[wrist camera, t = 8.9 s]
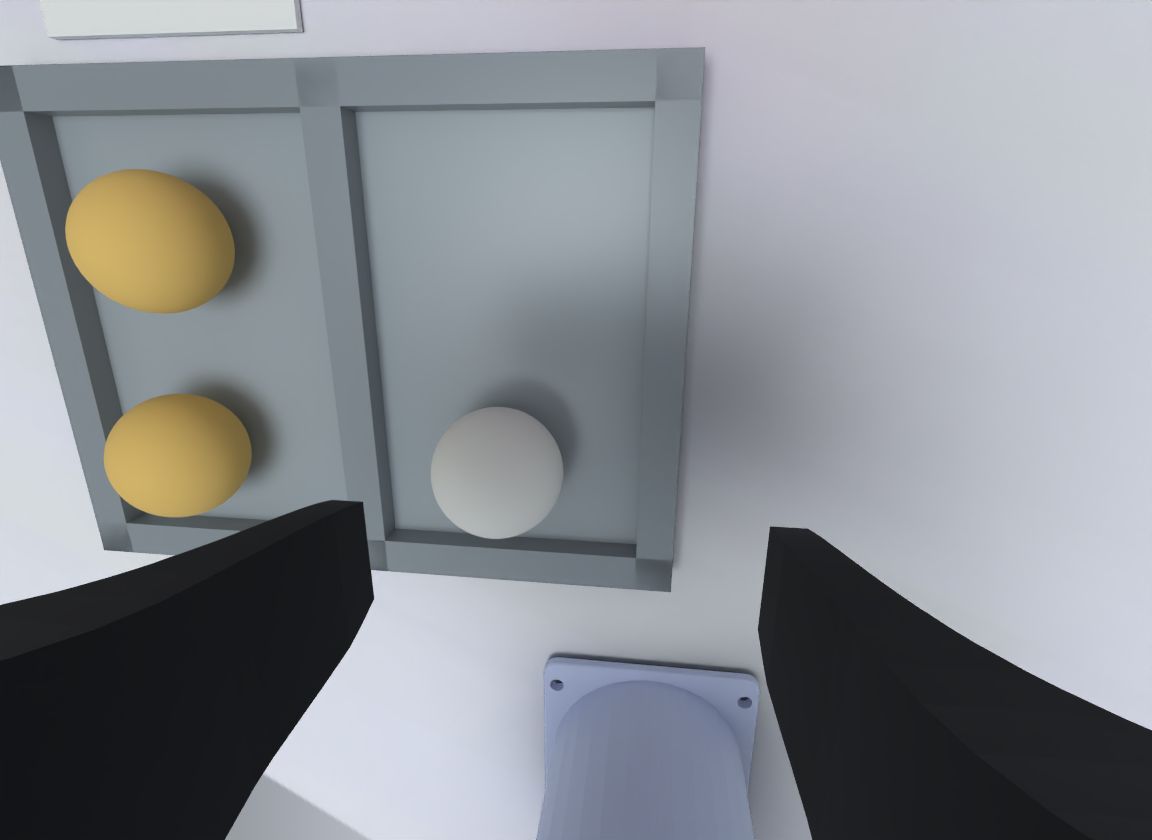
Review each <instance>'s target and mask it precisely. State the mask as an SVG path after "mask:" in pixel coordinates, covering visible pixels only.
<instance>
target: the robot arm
mask: <svg viewBox="0 0 1152 840" xmlns="http://www.w3.org/2000/svg"><path fill="white" fill-rule="evenodd" d="M373 600H374V593H373V585H372V576H371V567H370V558H369V550H368V541H367V532H366V523H365V514H364V506H363V502H360V501H343V500H329V501H324V502H320V503H316V504H313V505H310V506H307V507H304V508H301V509H298V510H295V511H293V512H290V513H287V514H284V515H282V516H279V517H277V518H274V519H271V520H269V521H266V522H264V523H261V524H258V525H256V526H253V527H251V528H248V529H245V530H243V531H240V532H238V533H235V534H233V535H230V536H227V537H225V538H222V539H220V540H217V541H214V542H211V543H209V544H206V545H203V546H200V547H197V548H195V549H192V550H189V551H186V552H183V553H181V554H178V555H175V556H172V557H170V558H167V559H164V560H161V561H158V562H156V563H153V564H150V565H147V566H144V567H141V568H137V569H134V570H131V571H128V572H125V573H122V574H118V575H115V576H112V577H108V578H105V579H101V580H98V581H94V582H91V583H87V584H84V585H80V586H77V587H73V588H69V589H66V590H62V591H58V592H54V593H50V594H46V595H41V596H37V597H33V598H28V599H24V600H20V601H16V602H11V603H7V604H3V605H0V840H225V838H226V836H227V835H228V833H229V831H230V829H231V828H232V826H233V824H234V822H235V820H236V819H237V817H238V815H239V813H240V812H241V810H242V808H243V806H244V805H245V803H246V801H247V799H248V797H249V796H250V794H251V791H252V790H253V789H254V787H255V785H256V784H257V782H258V780H259V779H260V777H261V776H262V774H263V773H264V771H265V770H266V768H267V767H268V765H269V763H270V762H271V760H272V759H273V757H274V756H275V754H276V753H277V752H278V750H279V749H280V747H281V746H282V744H283V743H284V742H285V740H286V739H287V737H288V736H289V734H290V733H291V732H292V730H293V729H294V727H295V726H296V724H297V723H298V722H299V720H300V719H301V717H302V716H303V714H304V713H305V712H306V710H307V709H308V707H309V706H310V704H311V703H312V702H313V700H314V699H315V697H316V696H317V694H318V693H319V692H320V690H321V689H322V687H323V686H324V684H325V683H326V682H327V680H328V679H329V677H330V676H331V674H332V673H333V671H334V670H335V668H336V667H337V665H338V664H339V663H340V661H341V660H342V658H343V657H344V655H345V654H346V652H347V651H348V649H349V648H350V646H351V644H352V642H353V640H354V638H355V637H356V635H357V633H358V631H359V629H360V627H361V625H362V623H363V621H364V619H365V617H366V615H367V613H368V611H369V608H370V606H371V604H372V602H373ZM758 633H759V639H760V646H761V652H762V659H763V665H764V671H765V677H766V682H767V686H768V690H769V693H770V697H771V700H772V704H773V707H774V710H775V714H776V717H777V721H778V724H779V727H780V731H781V734H782V737H783V741H784V744H785V747H786V751H787V754H788V757H789V760H790V764H791V767H792V770H793V774H794V777H795V780H796V784H797V787H798V790H799V794H800V797H801V800H802V803H803V807H804V810H805V813H806V817H807V820H808V824H809V828H810V832H811V836H812V840H1152V730H1150V729H1147V728H1145V727H1143V726H1140V725H1138V724H1136V723H1133V722H1131V721H1129V720H1126V719H1124V718H1122V717H1120V716H1118V715H1115V714H1113V713H1111V712H1109V711H1107V710H1105V709H1103V708H1100V707H1098V706H1096V705H1094V704H1092V703H1090V702H1088V701H1086V700H1083V699H1081V698H1079V697H1077V696H1075V695H1073V694H1071V693H1069V692H1066V691H1064V690H1062V689H1060V688H1058V687H1056V686H1054V685H1052V684H1050V683H1048V682H1046V681H1044V680H1042V679H1040V678H1038V677H1036V676H1034V675H1032V674H1030V673H1028V672H1027V671H1025V670H1023V669H1021V668H1019V667H1017V666H1016V665H1014V664H1012V663H1010V662H1008V661H1007V660H1005V659H1003V658H1001V657H999V656H998V655H996V654H994V653H992V652H990V651H988V650H987V649H985V648H983V647H981V646H979V645H978V644H976V643H974V642H972V641H971V640H969V639H967V638H966V637H964V636H962V635H961V634H959V633H957V632H956V631H954V630H953V629H951V628H949V627H948V626H946V625H945V624H943V623H942V622H940V621H939V620H937V619H935V618H934V617H932V616H931V615H929V614H928V613H926V612H925V611H923V610H921V609H920V608H918V607H917V606H915V605H914V604H912V603H911V602H909V601H908V600H907V599H905V598H904V597H902V596H901V595H899V594H898V593H896V592H895V591H894V590H892V589H891V588H889V587H888V586H887V585H885V584H884V583H882V582H881V581H880V580H878V579H877V578H875V577H874V576H873V575H871V574H870V573H869V572H867V571H866V570H865V569H863V568H862V567H861V566H859V565H858V564H857V563H855V562H854V561H853V560H851V559H850V558H849V557H847V556H846V555H845V554H843V553H842V552H841V551H839V550H838V549H837V548H835V547H834V546H832V545H831V544H830V543H828V542H827V541H826V540H824V539H823V538H821V537H820V536H819V535H817V534H816V533H814V532H812V531H811V530H809V529H802V528H786V527H770V532H769V541H768V549H767V558H766V566H765V575H764V583H763V591H762V600H761V608H760V617H759V625H758ZM556 679H557V680H560V681H561V682H562V683H555V682H554V681H553V680H556ZM759 696H760V688H759V684H758V681H757V679H756V678H755V677H753V676H752V675H749V674H743V673H731V672H720V671H709V670H697V669H686V668H674V667H663V666H652V665H640V664H629V663H618V662H606V661H595V660H584V659H572V658H561V657H555V658H551V659H549V660H548V661H547V663H546V666H545V670H544V712H545V796H544V801H543V806H542V812H541V817H540V822H539V827H538V833H537V838H536V840H755V838H754V832H753V826H752V820H751V814H750V808H749V802H748V796H747V793H748V785H749V776H750V768H751V760H752V752H753V744H754V736H755V728H756V720H757V712H758V704H759ZM741 697H748V698H749V699H747V700H744V701H742V700H739V699H740V698H741Z"/></svg>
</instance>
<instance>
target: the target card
mask: <svg viewBox="0 0 1152 840" xmlns="http://www.w3.org/2000/svg"><path fill="white" fill-rule="evenodd" d="M40 5H41V9H42V13H43V18H44V22H45V26H46V31H47V35H48V37H50V38H53V39H56V40H66V39H98V38H130V37H162V36H194V35H226V34H258V33H290V32H303V28H302V20H301V11H300V3H299V0H40Z"/></svg>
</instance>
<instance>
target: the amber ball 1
mask: <svg viewBox="0 0 1152 840" xmlns="http://www.w3.org/2000/svg"><path fill="white" fill-rule="evenodd" d="M65 233H66V241H67V246H68V249H69V252H70V255H71V257H72V259H73V261H74V263H75V265H76V266H77V268H78V269H79V271H80V272H81V274H82V275H83V276H84V277H85V279H86V280H87V281H88V282H89V283H90V284H91V285H92V286H93V287H95V288H96V289H97V290H98V291H100V292H101V293H102V294H104V295H105V296H107V297H108V298H110V299H111V300H114V301H116V302H118V303H120V304H122V305H124V306H126V307H129V308H132V309H136V310H139V311H144V312H149V313H160V314H166V313H178V312H183V311H187V310H191V309H194V308H196V307H199V306H201V305H203V304H204V303H206V302H208V301H210V300H211V299H212V298H213V297H215V296H216V295H217V294H218V293H219V292H220V291H221V290H222V289H223V287H224V286H225V284H226V283H227V281H228V279H229V277H230V275H231V273H232V269H233V266H234V260H235V248H234V241H233V236H232V233H231V230H230V227H229V225H228V223H227V221H226V219H225V218H224V216H223V214H222V213H221V211H220V210H219V209H218V207H217V206H216V205H215V204H214V203H213V202H212V201H211V200H210V199H209V198H208V197H207V196H206V195H205V194H204V193H202V192H201V191H200V190H198V189H197V188H195V187H194V186H192V185H191V184H189V183H187V182H185V181H184V180H182V179H179V178H177V177H175V176H172V175H169V174H166V173H162V172H157V171H153V170H144V169H128V170H120V171H115V172H111V173H108V174H106V175H103V176H101V177H99V178H97V179H95V180H94V181H92V182H90V183H89V184H88V185H86V186H85V187H84V188H83V189H82V190H81V191H80V192H79V193H78V195H77V196H76V197H75V199H74V200H73V202H72V204H71V206H70V208H69V211H68V214H67V219H66V227H65Z"/></svg>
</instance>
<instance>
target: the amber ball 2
mask: <svg viewBox="0 0 1152 840" xmlns="http://www.w3.org/2000/svg"><path fill="white" fill-rule="evenodd" d="M251 457H252V450H251V443H250V439H249V436H248V433H247V431H246V429H245V427H244V426H243V424H242V423H241V421H240V420H239V419H238V417H237V416H236V415H235V414H234V413H233V412H231V411H230V410H229V409H228V408H226V407H225V406H223V405H221V404H220V403H218V402H216V401H214V400H211V399H208V398H205V397H202V396H198V395H192V394H168V395H162V396H158V397H154V398H151V399H149V400H146V401H144V402H142V403H140V404H138V405H136V406H135V407H133V408H132V409H130V410H129V411H128V412H126V413H125V414H124V415H123V416H122V417H121V418H120V419H119V420H118V421H117V422H116V424H115V425H114V427H113V428H112V430H111V432H110V433H109V436H108V438H107V441H106V444H105V448H104V467H105V471H106V474H107V477H108V479H109V481H110V483H111V485H112V487H113V488H114V489H115V491H116V492H117V493H118V494H119V495H120V496H121V497H122V498H123V499H124V500H125V501H126V502H128V503H129V504H131V505H132V506H134V507H135V508H137V509H139V510H142V511H144V512H147V513H150V514H153V515H157V516H163V517H188V516H194V515H198V514H201V513H204V512H207V511H210V510H212V509H214V508H216V507H218V506H219V505H221V504H222V503H224V502H225V501H227V500H228V499H229V498H230V497H232V496H233V495H234V494H235V493H236V491H237V490H238V489H239V488H240V486H241V485H242V484H243V482H244V480H245V478H246V476H247V474H248V471H249V468H250V465H251Z"/></svg>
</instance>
